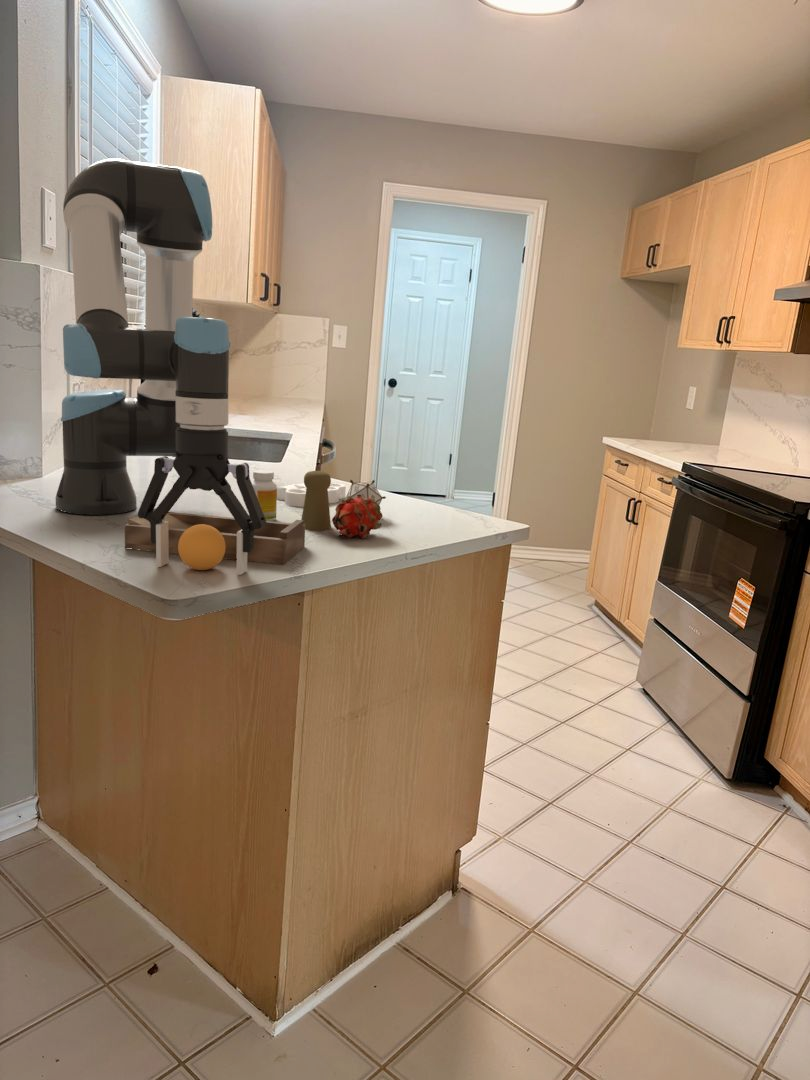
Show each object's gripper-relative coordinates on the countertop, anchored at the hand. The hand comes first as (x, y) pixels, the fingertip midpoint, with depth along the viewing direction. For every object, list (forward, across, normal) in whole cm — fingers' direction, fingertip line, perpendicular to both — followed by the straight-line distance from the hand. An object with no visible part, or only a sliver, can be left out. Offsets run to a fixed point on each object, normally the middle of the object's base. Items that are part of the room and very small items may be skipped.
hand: (201, 568), depth 118 cm
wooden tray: (0, -2, +13) cm, 13 cm away
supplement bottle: (0, -2, +37) cm, 37 cm away
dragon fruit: (0, +18, +30) cm, 35 cm away
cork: (0, +9, +35) cm, 36 cm away
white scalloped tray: (+1, +1, +62) cm, 62 cm away
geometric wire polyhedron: (0, +16, +47) cm, 50 cm away
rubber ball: (-3, 0, 0) cm, 3 cm away
